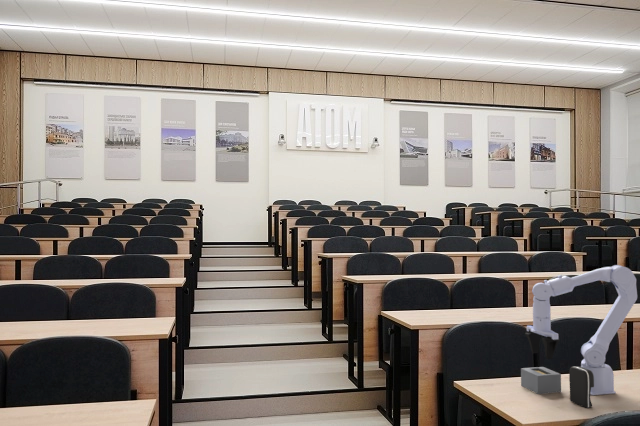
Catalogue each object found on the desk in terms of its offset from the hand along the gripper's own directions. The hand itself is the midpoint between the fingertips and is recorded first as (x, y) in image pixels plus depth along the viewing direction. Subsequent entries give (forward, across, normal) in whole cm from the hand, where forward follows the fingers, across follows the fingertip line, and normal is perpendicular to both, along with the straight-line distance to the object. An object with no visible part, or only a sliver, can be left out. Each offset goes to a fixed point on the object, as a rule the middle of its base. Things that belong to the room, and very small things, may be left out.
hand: (542, 355), depth 172 cm
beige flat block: (+10, +3, -3) cm, 11 cm away
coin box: (+10, +3, -3) cm, 11 cm away
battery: (+11, +19, 0) cm, 22 cm away
